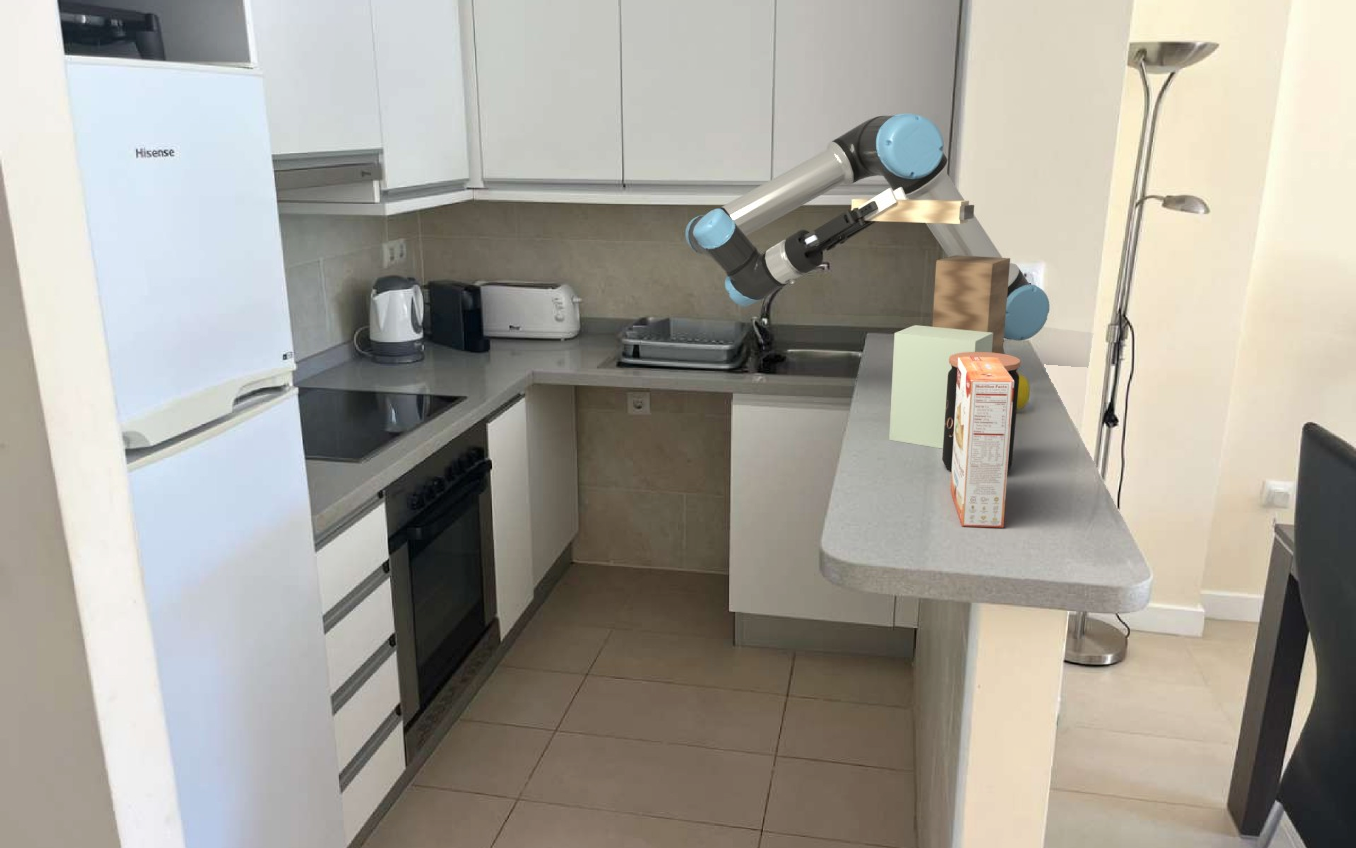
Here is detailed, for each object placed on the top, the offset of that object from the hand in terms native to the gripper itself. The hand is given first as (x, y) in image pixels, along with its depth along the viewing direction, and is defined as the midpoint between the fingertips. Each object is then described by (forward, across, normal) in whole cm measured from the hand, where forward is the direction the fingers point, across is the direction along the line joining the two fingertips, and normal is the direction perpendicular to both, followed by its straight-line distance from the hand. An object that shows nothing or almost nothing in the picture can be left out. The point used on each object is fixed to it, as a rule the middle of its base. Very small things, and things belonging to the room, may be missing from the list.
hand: (898, 194), depth 173 cm
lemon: (-7, -22, -44) cm, 50 cm away
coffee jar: (-2, +16, -48) cm, 50 cm away
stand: (-12, -11, -41) cm, 44 cm away
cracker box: (+4, +34, -51) cm, 61 cm away
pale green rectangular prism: (-11, +4, -42) cm, 43 cm away
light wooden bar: (-1, 0, -5) cm, 5 cm away
